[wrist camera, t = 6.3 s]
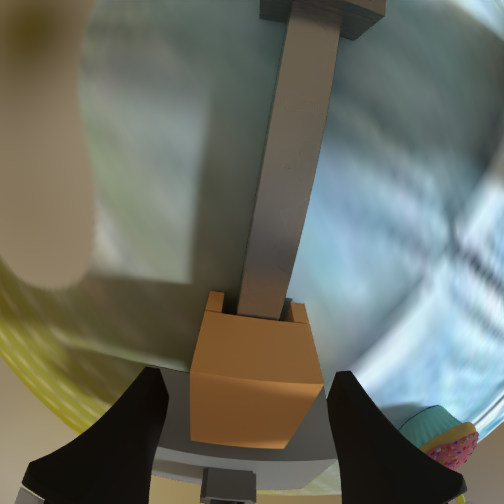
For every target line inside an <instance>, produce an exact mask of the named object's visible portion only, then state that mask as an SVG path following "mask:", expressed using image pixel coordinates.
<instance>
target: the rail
mask: <svg viewBox="0 0 504 504" xmlns="http://www.w3.org/2000/svg"><path fill="white" fill-rule="evenodd" d="M384 16H385V0H260V17H259V18H261V19H268V20H274V21H280V22H286V23H287V24H286V30H285V35H284V40H283V46H282V51H281V57H280V62H279V67H278V73H277V78H276V84H275V89H274V95H273V100H272V106H271V111H270V117H269V123H268V128H267V134H266V139H265V145H264V151H263V156H262V162H261V168H260V173H259V179H258V185H257V191H256V196H255V202H254V208H253V214H252V219H251V225H250V231H249V237H248V243H247V249H246V254H245V260H244V266H243V272H242V278H241V284H240V290H239V296H238V302H237V308H236V314H235V315H236V316H243V317H251V318H258V319H266V320H274V321H279V318H280V315H281V311H282V308H283V304H284V300H285V297H286V293H287V289H288V285H289V282H290V278H291V274H292V270H293V266H294V262H295V258H296V254H297V250H298V246H299V242H300V238H301V234H302V230H303V226H304V222H305V217H306V213H307V209H308V204H309V200H310V195H311V191H312V186H313V182H314V177H315V172H316V168H317V163H318V158H319V153H320V148H321V143H322V138H323V133H324V127H325V122H326V117H327V111H328V105H329V100H330V94H331V88H332V82H333V75H334V69H335V62H336V56H337V49H338V41H339V36H342V37H345V38H348V39H351V40H354V41H355V40H356V39H357V38H358V37H359V36H361V35H362V34H363V33H364V32H365V31H367V30H368V29H369V28H370V27H372V26H373V25H374V24H375V23H377V22H378V21H379V20H380V19H382V18H383V17H384Z"/></svg>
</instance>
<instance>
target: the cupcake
mask: <svg viewBox="0 0 504 504" xmlns="http://www.w3.org/2000/svg"><path fill="white" fill-rule="evenodd" d="M400 433H401V434H402V435H403V436H404V437H405V438H407V439H408V440H409V441H410V442H411V443H412V444H413V445H415V446H416V447H417V448H418V449H420V450H421V451H422V452H424V453H425V454H427V455H428V456H429V457H431V458H432V459H434V460H435V461H437V462H439V463H440V464H442V465H444V466H445V467H447V468H449V469H451V470H453V471H455V470H456V469H457V468H458V467H459V466H460V465H461V464H462V463H464V461H465V462H466V461H467V458H468V457H469V456H470V454H472V452H473V450H474V448H475V447H476V445H477V440H478V436H479V433H478V432H476V428H475V426H474V425H473V424H472V423H470V422H465V423H462V422H460V421H459V420H457V419H456V418H455V417H453V416H452V415H451V414H450V413H449V412H448V411H447V410H446V409H445V408H444V407H442V406H434V407H431V408H429V409H426V410H424V411H422V412H420V413H419V414H417V415H415V416H414V417H412V418H411V419H410V420H408V421H407V422H406V423H405V424H404V425H403V426H402V427H401V429H400ZM455 499H456V501H457V504H464V503H465V502H466V501H465V499H464V496H463V494H462V495H460V496H458V497H456V498H455Z"/></svg>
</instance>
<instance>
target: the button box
mask: <svg viewBox="0 0 504 504" xmlns="http://www.w3.org/2000/svg"><path fill="white" fill-rule="evenodd" d="M151 367H154V368H160V371H161V374H162V377H163V379H164V382H165V385H166V388H167V391H168V394H169V403H168V409H167V415H166V419H165V423H164V426H163V429H162V433H161V436H160V440H159V443H158V446H157V450H156V453H155V457H154V461H153V466H152V473H151V475H155V476H160V477H163V478H168V479H172V480H177V481H182V482H188V483H194V484H200V485H202V486H201V495H200V503H205V504H217V500H226V501H237V504H255V503H256V490H291V489H302V488H303V487H305V486H306V485H307V484H309V483H310V482H311V481H312V480H314V479H315V478H316V477H317V476H319V475H320V474H321V473H322V472H324V471H325V470H326V469H327V468H328V467H329V466H331V465H332V464H333V463H334V462H335V461H336V460H337V459H338V457H337V453H336V449H335V444H334V440H333V436H332V432H331V427H330V423H329V417H328V409H327V399H326V395H325V390H324V386H323V387H322V389H321V390H320V392H319V394H318V396H317V397H316V399H315V401H314V403H313V404H312V406H311V408H310V409H309V411H308V412H307V414H306V416H305V417H304V419H303V420H302V422H301V424H300V425H299V427H298V428H297V430H296V431H295V433H294V434H293V436H292V437H291V439H290V440H289V442H288V443H287V445H286V446H285V448H284V449H272V448H251V447H239V446H229V445H220V444H212V443H205V442H199V441H193V440H191V436H190V373H185V372H180V371H175V370H170V369H166V368H161V367H157V366H151Z"/></svg>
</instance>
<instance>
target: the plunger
mask: <svg viewBox="0 0 504 504" xmlns="http://www.w3.org/2000/svg"><path fill="white" fill-rule="evenodd" d="M217 504H237V501H226V500H217Z"/></svg>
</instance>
